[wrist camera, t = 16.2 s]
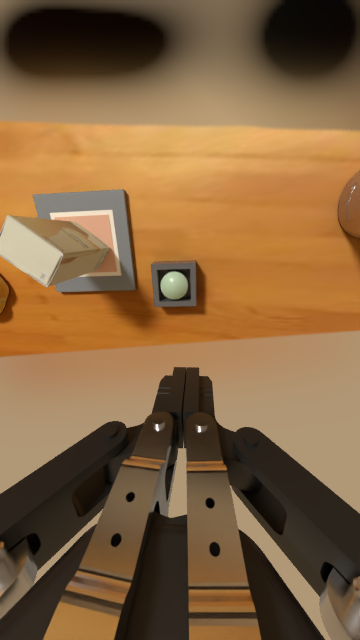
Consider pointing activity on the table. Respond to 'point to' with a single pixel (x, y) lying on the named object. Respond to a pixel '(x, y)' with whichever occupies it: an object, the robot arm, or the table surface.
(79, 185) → the table surface
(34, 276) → the skincare box
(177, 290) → the button
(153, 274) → the button housing
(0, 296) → the bread roll
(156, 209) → the table surface
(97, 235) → the picture board
